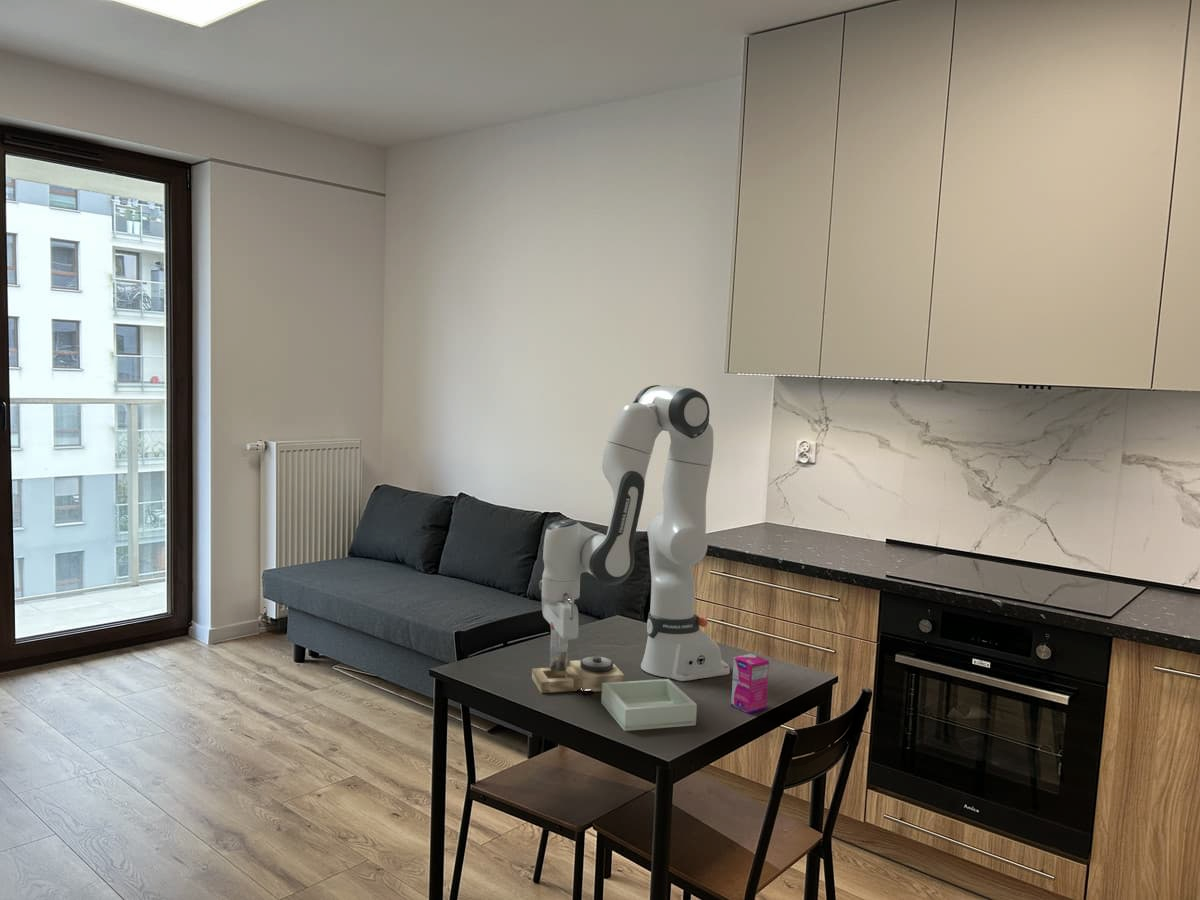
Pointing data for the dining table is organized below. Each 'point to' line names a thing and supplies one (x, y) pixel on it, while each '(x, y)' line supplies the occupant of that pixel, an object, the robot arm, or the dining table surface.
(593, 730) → the dining table surface
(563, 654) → the lock pin
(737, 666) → the supplement box
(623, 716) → the tray
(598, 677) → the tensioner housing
